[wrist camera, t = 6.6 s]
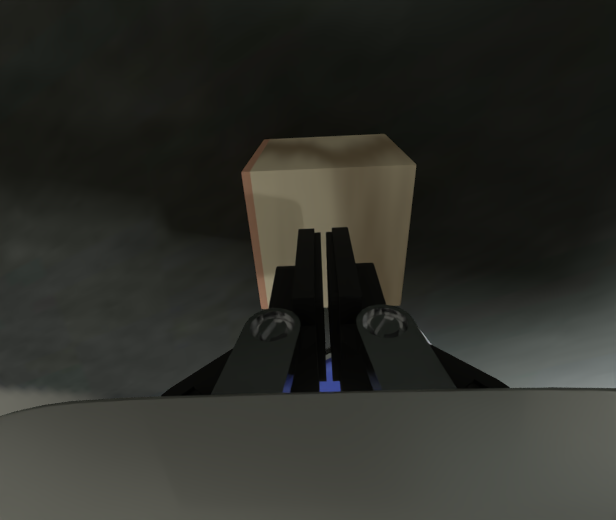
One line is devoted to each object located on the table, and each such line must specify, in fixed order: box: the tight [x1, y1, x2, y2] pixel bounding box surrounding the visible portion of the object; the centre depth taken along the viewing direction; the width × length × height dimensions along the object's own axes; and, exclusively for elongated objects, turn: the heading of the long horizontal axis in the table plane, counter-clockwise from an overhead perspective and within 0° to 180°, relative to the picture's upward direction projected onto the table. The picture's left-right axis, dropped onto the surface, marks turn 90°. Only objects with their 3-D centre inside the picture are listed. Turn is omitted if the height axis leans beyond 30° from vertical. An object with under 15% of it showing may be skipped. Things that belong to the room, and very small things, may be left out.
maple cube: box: [241, 134, 416, 309], centre depth 16 cm, size 6×6×6 cm
